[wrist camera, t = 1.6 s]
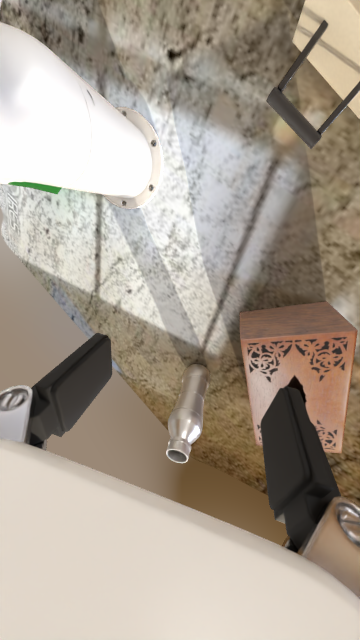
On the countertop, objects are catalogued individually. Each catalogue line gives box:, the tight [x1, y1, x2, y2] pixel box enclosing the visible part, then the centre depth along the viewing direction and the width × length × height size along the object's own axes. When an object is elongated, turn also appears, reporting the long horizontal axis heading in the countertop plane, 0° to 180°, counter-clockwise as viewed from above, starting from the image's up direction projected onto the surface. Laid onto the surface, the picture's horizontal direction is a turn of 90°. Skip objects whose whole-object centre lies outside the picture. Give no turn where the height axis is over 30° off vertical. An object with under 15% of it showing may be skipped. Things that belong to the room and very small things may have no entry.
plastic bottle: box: [166, 364, 210, 463], centre depth 39 cm, size 6×7×20 cm
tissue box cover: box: [240, 301, 357, 453], centre depth 37 cm, size 26×14×10 cm, turn 15°
